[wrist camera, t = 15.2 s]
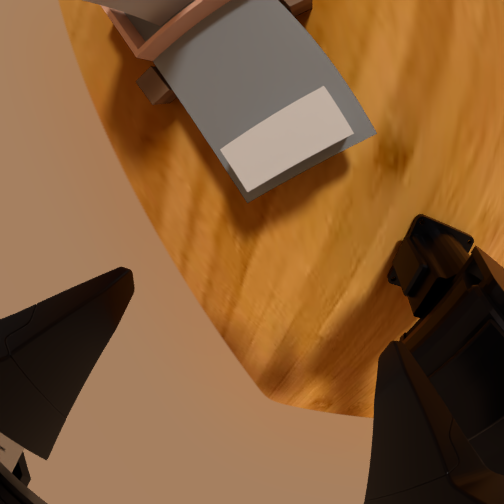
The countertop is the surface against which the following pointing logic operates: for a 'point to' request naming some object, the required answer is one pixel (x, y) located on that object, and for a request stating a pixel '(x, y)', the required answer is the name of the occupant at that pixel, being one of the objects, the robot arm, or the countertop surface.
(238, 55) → the board
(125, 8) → the grey block
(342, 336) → the countertop surface
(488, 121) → the countertop surface
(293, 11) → the pivot stand
